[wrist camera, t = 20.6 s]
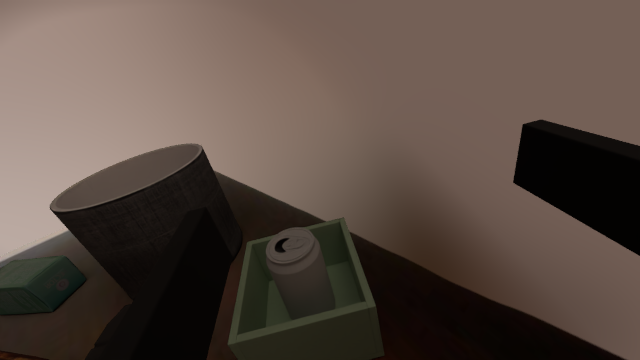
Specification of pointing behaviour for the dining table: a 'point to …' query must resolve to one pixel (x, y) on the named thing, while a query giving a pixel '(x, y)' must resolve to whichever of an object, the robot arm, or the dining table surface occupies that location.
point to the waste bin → (312, 331)
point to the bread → (17, 356)
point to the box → (37, 284)
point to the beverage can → (300, 273)
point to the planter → (143, 210)
